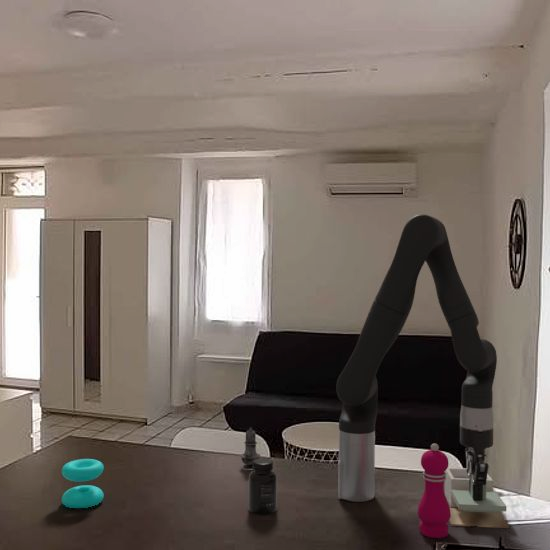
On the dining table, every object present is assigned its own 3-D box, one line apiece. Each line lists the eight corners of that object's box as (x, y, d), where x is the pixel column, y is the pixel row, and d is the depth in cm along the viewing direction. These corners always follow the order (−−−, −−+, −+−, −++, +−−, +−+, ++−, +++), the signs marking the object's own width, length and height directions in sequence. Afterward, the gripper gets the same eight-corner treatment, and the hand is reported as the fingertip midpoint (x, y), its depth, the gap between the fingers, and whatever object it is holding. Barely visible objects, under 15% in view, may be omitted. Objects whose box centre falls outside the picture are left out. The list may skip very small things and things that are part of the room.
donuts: (52, 466, 159) (81, 455, 169) (52, 506, 160) (81, 493, 169) (84, 472, 155) (112, 460, 164) (84, 513, 156) (112, 500, 165)
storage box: (451, 507, 161) (451, 479, 161) (444, 494, 170) (445, 467, 170) (492, 508, 160) (492, 480, 160) (483, 495, 169) (484, 468, 169)
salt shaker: (257, 471, 187) (258, 430, 187) (238, 470, 188) (238, 428, 188) (262, 465, 193) (262, 425, 193) (243, 464, 194) (243, 423, 194)
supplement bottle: (280, 507, 160) (280, 458, 160) (271, 517, 154) (271, 466, 154) (254, 503, 163) (254, 455, 162) (244, 513, 156) (244, 463, 156)
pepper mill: (413, 526, 149) (414, 439, 149) (444, 525, 150) (445, 438, 149) (423, 539, 142) (424, 448, 141) (455, 538, 142) (456, 447, 142)
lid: (458, 513, 150) (459, 482, 149) (451, 498, 159) (451, 469, 159) (506, 515, 149) (506, 484, 149) (495, 500, 158) (496, 471, 158)
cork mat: (451, 525, 150) (451, 524, 150) (443, 509, 159) (443, 507, 159) (509, 528, 148) (509, 526, 148) (498, 511, 158) (498, 509, 158)
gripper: (454, 417, 161) (454, 486, 161) (466, 432, 147) (465, 508, 147) (485, 418, 160) (485, 487, 161) (500, 432, 146) (499, 509, 147)
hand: (475, 497), depth 154 cm, fingers closed on lid, 3 cm apart
